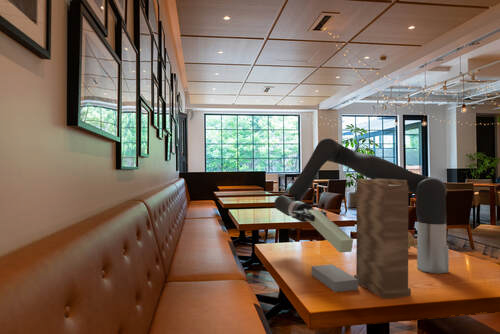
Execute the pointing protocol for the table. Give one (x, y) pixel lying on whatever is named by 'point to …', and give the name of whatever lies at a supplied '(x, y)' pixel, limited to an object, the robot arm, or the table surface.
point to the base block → (334, 278)
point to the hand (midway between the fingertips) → (319, 218)
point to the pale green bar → (331, 232)
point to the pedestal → (382, 237)
